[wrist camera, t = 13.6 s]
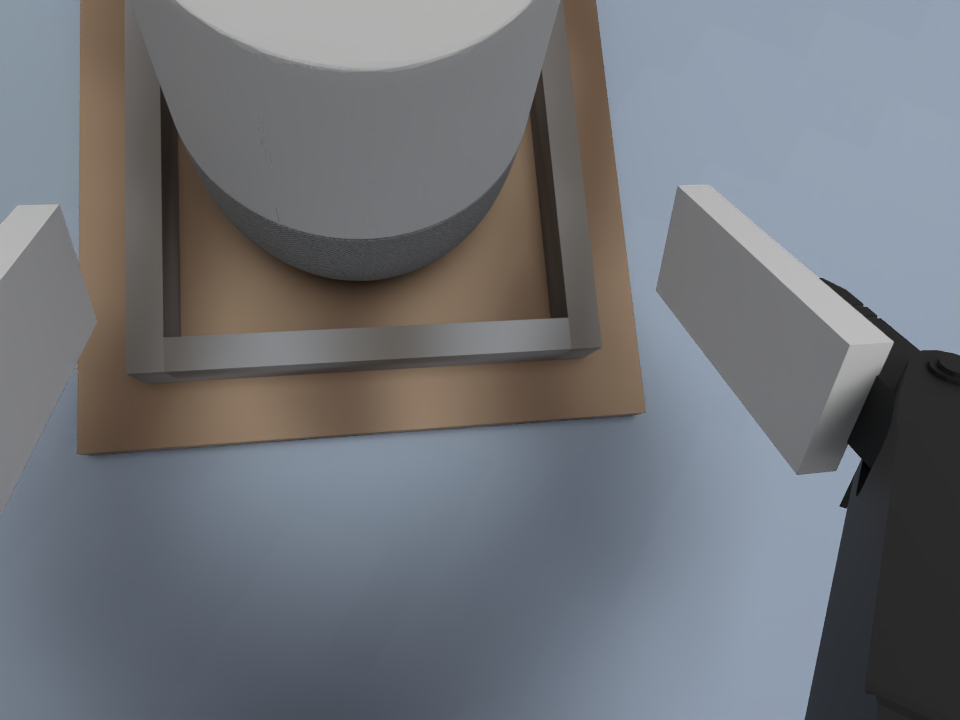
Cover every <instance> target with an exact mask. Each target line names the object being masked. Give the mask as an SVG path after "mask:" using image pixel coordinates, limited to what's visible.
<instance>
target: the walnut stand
mask: <svg viewBox="0 0 960 720" xmlns="http://www.w3.org/2000/svg"><path fill="white" fill-rule="evenodd" d="M79 266H80V269H81V273H82V276H83V279H84V282H85V285H86V288H87V291H88V294H89V297H90V301H91V304H92V307H93V310H94V313H95V316H96V319H97V323H96V325H95V327H94V329H93V332H92V334H91V336H90V338H89V340H88V342H87V344H86V346H85V348H84V350H83V352H82V354H81V356H80V358H79V360H78V446H77V454H82V455H101V454H115V453H128V452H142V451H155V450H169V449H182V448H196V447H210V446H223V445H237V444H250V443H264V442H277V441H291V440H304V439H318V438H332V437H345V436H359V435H372V434H386V433H399V432H413V431H426V430H440V429H454V428H467V427H481V426H494V425H508V424H521V423H535V422H548V421H562V420H576V419H589V418H603V417H616V416H630V415H637V414H641V413H645V412H646V411H645V402H644V394H643V386H642V378H641V369H640V361H639V353H638V345H637V336H636V328H635V320H634V312H633V303H632V295H631V287H630V279H629V270H628V262H627V254H626V246H625V237H624V229H623V221H622V213H621V204H620V196H619V188H618V180H617V171H616V163H615V155H614V147H613V138H612V130H611V122H610V114H609V105H608V97H607V89H606V81H605V72H604V64H603V56H602V48H601V39H600V31H599V23H598V15H597V6H596V0H560V4H559V7H558V11H557V15H556V18H555V22H554V26H553V29H552V33H551V37H550V40H549V44H548V47H547V51H546V55H545V58H544V62H543V66H542V69H541V73H540V77H539V80H538V84H537V87H536V91H535V95H534V98H533V102H532V106H531V109H530V113H529V117H528V120H527V124H526V127H525V131H524V134H523V137H522V140H521V143H520V146H519V148H518V151H517V154H516V156H515V159H514V162H513V164H512V167H511V170H510V172H509V175H508V177H507V179H506V181H505V183H504V185H503V187H502V189H501V192H500V193H499V195H498V197H497V199H496V200H495V202H494V204H493V205H492V207H491V209H490V210H489V211H488V213H487V214H486V216H485V217H484V218H483V220H482V221H481V222H480V223H479V224H478V226H477V227H476V228H475V229H474V230H473V231H472V232H471V233H470V234H469V235H468V236H467V237H466V238H465V239H464V240H463V241H462V242H461V243H460V244H458V245H457V246H456V247H454V248H453V249H452V250H451V251H449V252H448V253H447V254H445V255H444V256H442V257H441V258H439V259H437V260H436V261H434V262H432V263H430V264H428V265H426V266H424V267H422V268H420V269H417V270H415V271H412V272H410V273H407V274H403V275H400V276H396V277H392V278H387V279H381V280H373V281H346V280H338V279H331V278H327V277H322V276H318V275H315V274H312V273H308V272H305V271H303V270H300V269H297V268H295V267H293V266H291V265H288V264H286V263H284V262H282V261H280V260H279V259H277V258H275V257H274V256H272V255H270V254H269V253H267V252H266V251H265V250H263V249H262V248H260V247H259V246H258V245H256V244H255V243H253V242H252V241H251V240H250V239H249V238H247V237H246V236H245V235H244V234H243V233H242V232H241V231H240V230H239V229H238V228H237V227H236V226H235V225H234V224H233V223H232V222H231V221H230V220H229V219H228V218H227V217H226V215H225V214H224V213H223V212H222V210H221V209H220V208H219V206H218V205H217V204H216V202H215V201H214V200H213V198H212V197H211V195H210V194H209V192H208V190H207V189H206V187H205V186H204V184H203V182H202V180H201V179H200V177H199V175H198V173H197V172H196V169H195V167H194V165H193V163H192V161H191V159H190V157H189V155H188V153H187V151H186V149H185V147H184V144H183V142H182V140H181V138H180V135H179V133H178V131H177V128H176V126H175V123H174V121H173V118H172V116H171V113H170V110H169V108H168V105H167V102H166V99H165V97H164V94H163V91H162V88H161V86H160V83H159V80H158V78H157V75H156V72H155V69H154V67H153V64H152V61H151V59H150V56H149V53H148V50H147V48H146V45H145V42H144V39H143V37H142V34H141V31H140V29H139V26H138V23H137V20H136V18H135V15H134V12H133V9H132V7H131V4H130V1H129V0H81V4H80V152H79Z"/></svg>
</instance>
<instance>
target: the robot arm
mask: <svg viewBox="0 0 960 720" xmlns="http://www.w3.org/2000/svg"><path fill="white" fill-rule="evenodd" d="M656 291H657V293H658V294H659V295H660V297H661V298H662V299H663V300H664V302H665V303H666V304H667V306H668V307H669V308H670V310H671V311H672V312H673V314H674V315H675V316H676V317H677V319H678V320H679V321H680V323H681V324H682V325H683V327H684V328H685V329H686V331H687V332H688V333H689V334H690V336H691V337H692V338H693V340H694V341H695V342H696V344H697V345H698V346H699V348H700V349H701V350H702V351H703V353H704V354H705V355H706V357H707V358H708V359H709V361H710V362H711V363H712V365H713V366H714V367H715V368H716V370H717V371H718V372H719V374H720V375H721V376H722V378H723V379H724V380H725V381H726V383H727V384H728V385H729V387H730V388H731V389H732V391H733V392H734V393H735V395H736V396H737V397H738V398H739V400H740V401H741V402H742V404H743V405H744V406H745V408H746V409H747V410H748V412H749V413H750V414H751V415H752V417H753V418H754V419H755V421H756V422H757V423H758V425H759V426H760V427H761V429H762V430H763V431H764V432H765V434H766V435H767V436H768V438H769V439H770V440H771V442H772V443H773V444H774V446H775V447H776V448H777V449H778V451H779V452H780V453H781V455H782V456H783V457H784V459H785V460H786V461H787V463H788V464H789V465H790V466H791V468H792V469H793V470H794V472H795V473H796V474H797V475H801V474H811V473H820V472H830V471H836V470H837V468H838V465H839V463H840V461H841V459H842V457H843V454H844V452H845V450H846V448H847V445H848V444H849V445H850V446H851V448H852V449H853V450H854V451H855V452H856V453H857V454H858V455H859V456H860V458H861V459H862V460H861V462H860V464H859V466H858V468H857V470H856V472H855V474H854V476H853V479H852V481H851V483H850V485H849V487H848V489H847V491H846V493H845V496H844V498H843V500H842V502H841V504H840V507H843V508H847V507H848V508H847V513H846V518H845V523H844V528H843V533H842V538H841V542H840V547H839V552H838V557H837V562H836V567H835V572H834V577H833V582H832V587H831V592H830V597H829V602H828V607H827V612H826V617H825V622H824V627H823V632H822V637H821V642H820V647H819V652H818V657H817V662H816V666H815V671H814V676H813V681H812V686H811V691H810V696H809V701H808V706H807V711H806V716H805V720H960V356H959V355H957V354H954V353H948V352H943V351H938V350H923V351H920V350H918V349H917V348H916V347H915V346H914V345H912V344H911V343H910V342H909V341H908V340H906V339H905V338H904V337H903V336H901V335H900V334H899V333H898V332H897V331H895V330H894V329H893V328H892V327H891V326H889V325H888V324H887V323H886V322H885V321H883V320H882V319H881V318H879V319H877V315H876V314H875V313H874V312H872V311H871V310H870V309H869V308H868V307H863V303H862V302H860V301H859V300H858V299H857V298H856V297H854V296H853V295H852V294H851V293H849V292H848V291H847V290H846V289H843V288H841V287H839V286H837V285H835V284H833V283H831V282H829V281H827V280H825V279H823V278H818V277H817V276H816V275H815V274H813V273H812V272H811V271H810V270H809V269H808V268H806V267H805V266H804V265H803V264H802V263H800V262H799V261H798V260H797V259H796V258H795V257H793V256H792V255H791V254H790V253H789V252H787V251H786V250H785V249H784V248H783V247H782V246H780V245H779V244H778V243H777V242H776V241H775V240H773V239H772V238H771V237H770V236H769V235H767V234H766V233H765V232H764V231H763V230H762V229H760V228H759V227H758V226H757V225H756V224H755V223H753V222H752V221H751V220H750V219H749V218H747V217H746V216H745V215H744V214H743V213H742V212H740V211H739V210H738V209H737V208H736V207H734V206H733V205H732V204H731V203H730V202H729V201H727V200H726V199H725V198H724V197H723V196H722V195H720V194H719V193H718V192H717V191H716V190H714V189H713V188H712V187H711V186H710V185H679V186H677V191H676V196H675V201H674V206H673V211H672V215H671V220H670V225H669V230H668V235H667V239H666V244H665V249H664V254H663V259H662V264H661V268H660V273H659V278H658V283H657V288H656ZM96 323H97V319H96V316H95V313H94V310H93V307H92V304H91V301H90V297H89V294H88V291H87V288H86V285H85V282H84V279H83V276H82V273H81V269H80V266H79V263H78V260H77V257H76V254H75V251H74V248H73V244H72V241H71V238H70V235H69V232H68V229H67V226H66V223H65V220H64V216H63V213H62V210H61V207H60V204H47V205H17V207H16V208H15V209H14V210H13V211H12V212H11V213H10V214H9V215H8V217H7V218H6V219H5V220H4V221H3V222H2V223H1V224H0V517H1V515H2V513H3V511H4V509H5V507H6V505H7V503H8V501H9V499H10V497H11V495H12V492H13V490H14V488H15V486H16V484H17V482H18V480H19V478H20V476H21V474H22V472H23V470H24V468H25V466H26V464H27V462H28V460H29V458H30V456H31V454H32V452H33V450H34V448H35V446H36V444H37V442H38V440H39V438H40V436H41V434H42V432H43V430H44V428H45V426H46V424H47V422H48V420H49V418H50V416H51V414H52V412H53V410H54V408H55V406H56V404H57V402H58V400H59V398H60V396H61V394H62V392H63V390H64V388H65V386H66V384H67V382H68V380H69V378H70V376H71V374H72V372H73V370H74V368H75V366H76V364H77V362H78V360H79V358H80V356H81V354H82V352H83V350H84V348H85V346H86V344H87V342H88V340H89V338H90V336H91V334H92V332H93V329H94V327H95V325H96Z"/></svg>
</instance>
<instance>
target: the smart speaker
mask: <svg viewBox="0 0 960 720" xmlns="http://www.w3.org/2000/svg"><path fill="white" fill-rule="evenodd" d="M129 1H130V4H131V7H132V9H133V12H134V15H135V18H136V20H137V23H138V26H139V29H140V31H141V34H142V37H143V39H144V42H145V45H146V48H147V50H148V53H149V56H150V59H151V61H152V64H153V67H154V69H155V72H156V75H157V78H158V80H159V83H160V86H161V88H162V91H163V94H164V97H165V99H166V102H167V105H168V108H169V110H170V113H171V116H172V118H173V121H174V123H175V126H176V128H177V131H178V133H179V135H180V138H181V140H182V142H183V144H184V147H185V149H186V151H187V153H188V155H189V157H190V159H191V161H192V163H193V165H194V167H195V169H196V172H197V173H198V175H199V177H200V179H201V180H202V182H203V184H204V186H205V187H206V189H207V190H208V192H209V194H210V195H211V197H212V198H213V200H214V201H215V202H216V204H217V205H218V206H219V208H220V209H221V210H222V212H223V213H224V214H225V215H226V217H227V218H228V219H229V220H230V221H231V222H232V223H233V224H234V225H235V226H236V227H237V228H238V229H239V230H240V231H241V232H242V233H243V234H244V235H245V236H246V237H247V238H249V239H250V240H251V241H252V242H253V243H255V244H256V245H258V246H259V247H260V248H262V249H263V250H265V251H266V252H267V253H269V254H270V255H272V256H274V257H275V258H277V259H279V260H280V261H282V262H284V263H286V264H288V265H291V266H293V267H295V268H297V269H300V270H303V271H305V272H308V273H312V274H315V275H318V276H322V277H327V278H331V279H338V280H346V281H373V280H381V279H387V278H392V277H396V276H400V275H403V274H407V273H410V272H412V271H415V270H417V269H420V268H422V267H424V266H426V265H428V264H430V263H432V262H434V261H436V260H437V259H439V258H441V257H442V256H444V255H445V254H447V253H448V252H449V251H451V250H452V249H453V248H454V247H456V246H457V245H458V244H460V243H461V242H462V241H463V240H464V239H465V238H466V237H467V236H468V235H469V234H470V233H471V232H472V231H473V230H474V229H475V228H476V227H477V226H478V224H479V223H480V222H481V221H482V220H483V218H484V217H485V216H486V214H487V213H488V211H489V210H490V209H491V207H492V205H493V204H494V202H495V200H496V199H497V197H498V195H499V193H500V192H501V189H502V187H503V185H504V183H505V181H506V179H507V177H508V175H509V172H510V170H511V167H512V164H513V162H514V159H515V156H516V154H517V151H518V148H519V146H520V143H521V140H522V137H523V134H524V131H525V127H526V124H527V120H528V117H529V113H530V109H531V106H532V102H533V98H534V95H535V91H536V87H537V84H538V80H539V77H540V73H541V69H542V66H543V62H544V58H545V55H546V51H547V47H548V44H549V40H550V37H551V33H552V29H553V26H554V22H555V18H556V15H557V11H558V7H559V4H560V0H129Z"/></svg>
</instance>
